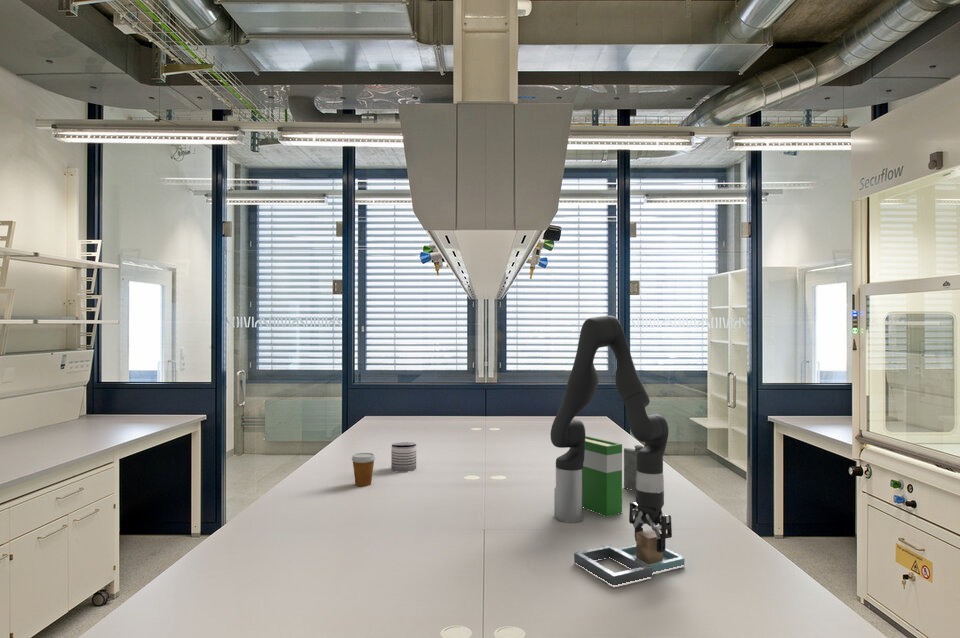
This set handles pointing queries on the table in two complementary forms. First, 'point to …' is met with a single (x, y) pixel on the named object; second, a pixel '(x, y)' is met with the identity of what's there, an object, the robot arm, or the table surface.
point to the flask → (630, 467)
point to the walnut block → (647, 547)
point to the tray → (668, 561)
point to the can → (403, 457)
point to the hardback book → (602, 476)
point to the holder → (637, 567)
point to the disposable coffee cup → (363, 468)
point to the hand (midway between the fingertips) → (649, 546)
